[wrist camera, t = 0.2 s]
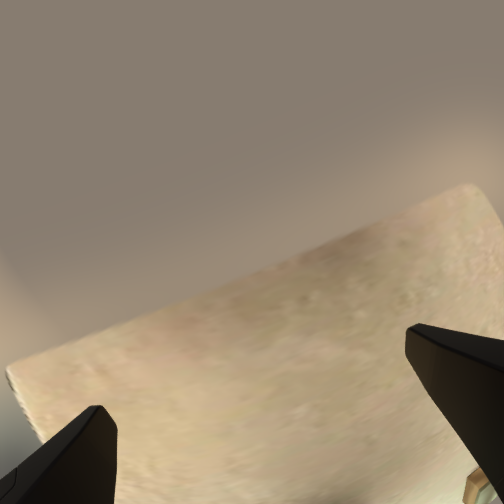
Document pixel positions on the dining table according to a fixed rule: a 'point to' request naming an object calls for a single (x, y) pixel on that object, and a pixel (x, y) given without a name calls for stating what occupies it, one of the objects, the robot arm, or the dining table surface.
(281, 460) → the dining table surface
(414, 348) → the robot arm
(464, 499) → the wooden box with frame
